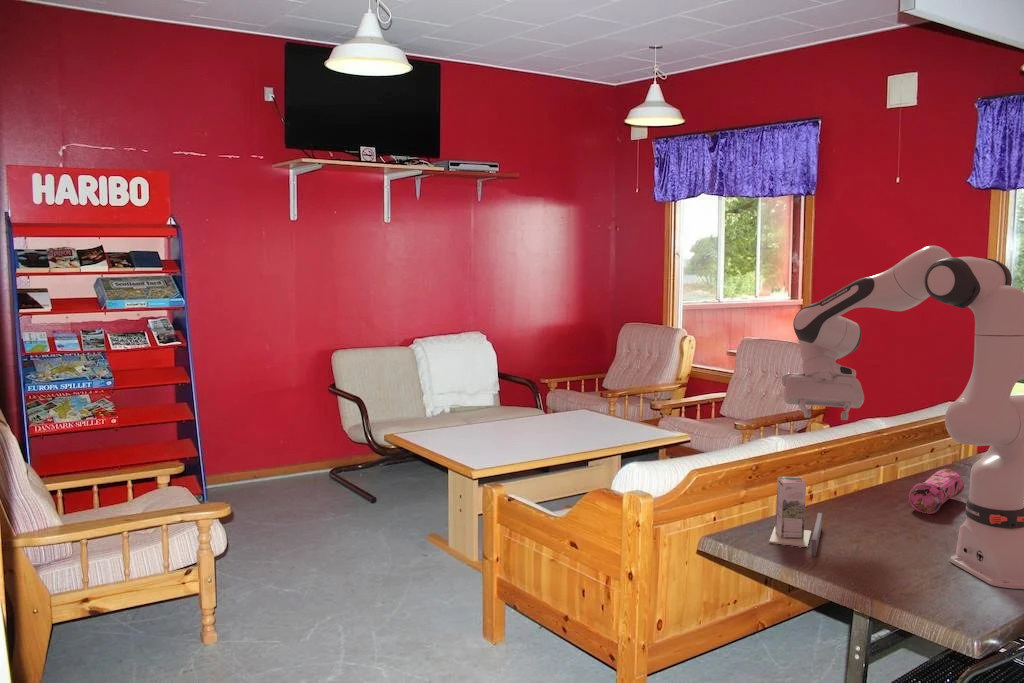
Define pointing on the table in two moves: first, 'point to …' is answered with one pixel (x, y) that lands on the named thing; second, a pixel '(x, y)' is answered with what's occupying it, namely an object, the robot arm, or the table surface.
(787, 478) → the syrup box
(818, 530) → the low wall
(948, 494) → the pencil case
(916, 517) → the table surface
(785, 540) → the pad
